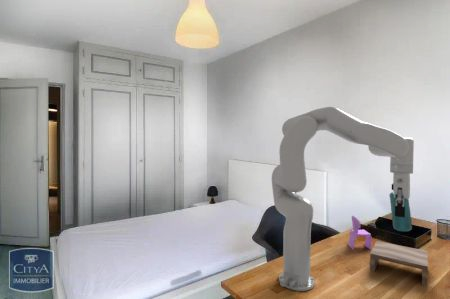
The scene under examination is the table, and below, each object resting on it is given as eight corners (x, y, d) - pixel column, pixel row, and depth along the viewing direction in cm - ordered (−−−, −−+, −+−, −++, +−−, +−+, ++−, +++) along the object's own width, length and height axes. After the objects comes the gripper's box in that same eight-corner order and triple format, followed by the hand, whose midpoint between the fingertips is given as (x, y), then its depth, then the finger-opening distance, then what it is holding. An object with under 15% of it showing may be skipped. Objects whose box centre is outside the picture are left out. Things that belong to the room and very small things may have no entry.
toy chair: (373, 250, 124) (373, 218, 123) (354, 250, 124) (354, 218, 124) (364, 243, 132) (365, 213, 132) (346, 243, 133) (346, 213, 132)
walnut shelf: (427, 285, 94) (427, 266, 94) (369, 270, 105) (370, 253, 105) (427, 268, 107) (427, 251, 107) (376, 256, 118) (376, 240, 118)
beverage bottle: (415, 234, 103) (410, 185, 100) (396, 235, 105) (390, 187, 102) (408, 226, 109) (404, 180, 106) (390, 227, 111) (385, 182, 108)
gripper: (412, 171, 95) (410, 222, 96) (414, 167, 109) (412, 211, 110) (387, 170, 100) (386, 218, 101) (392, 166, 113) (391, 208, 114)
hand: (400, 214), depth 105 cm, fingers closed on beverage bottle, 5 cm apart
